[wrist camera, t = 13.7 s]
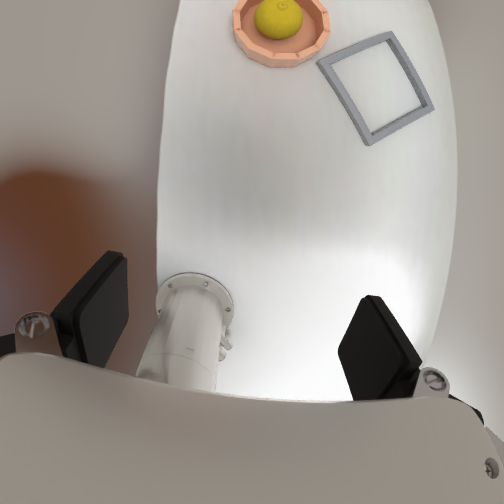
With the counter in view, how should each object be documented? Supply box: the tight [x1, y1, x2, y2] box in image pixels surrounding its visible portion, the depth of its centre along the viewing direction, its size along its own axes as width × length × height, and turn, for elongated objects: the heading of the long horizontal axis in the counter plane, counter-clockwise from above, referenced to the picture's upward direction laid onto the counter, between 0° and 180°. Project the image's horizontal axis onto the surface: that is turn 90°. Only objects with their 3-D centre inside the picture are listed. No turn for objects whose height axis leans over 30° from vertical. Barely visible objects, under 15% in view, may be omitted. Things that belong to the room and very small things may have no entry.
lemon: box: [254, 0, 303, 40], centre depth 23 cm, size 6×6×8 cm
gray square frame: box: [316, 31, 435, 146], centre depth 30 cm, size 13×13×2 cm
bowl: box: [233, 0, 331, 67], centre depth 26 cm, size 11×11×4 cm
